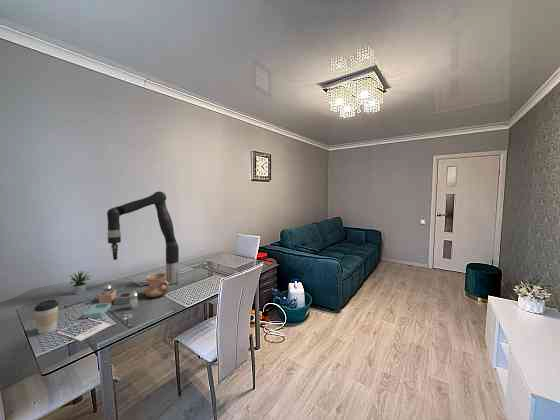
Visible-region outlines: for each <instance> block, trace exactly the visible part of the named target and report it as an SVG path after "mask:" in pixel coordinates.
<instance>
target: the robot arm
mask: <svg viewBox="0 0 560 420" xmlns="http://www.w3.org/2000/svg"><path fill="white" fill-rule="evenodd" d="M166 200H167V195H166V194H165V192H164V191H161V190H160V191H155V192H154V193H153V194H151V195H149V196H147V197H143V198H141V199H137V200H133V201H130V202H127V203H124V204H122V205H119V206H115V207H111V208H109V209H108V211H107V212H106V217H107V244H109V245H110V246H111V247H110V248H111V252H112V257H113V259H112V260H113V261H115V260H118V254H119V253H118V252H119V244H118V243H121V241H122V238H121V236H122V235H121V225H120V223H121V222H120V217H121V216H123V215H125V214H126V215H127V214H130V213H133V212H136V211H138V210H139V211H140V210H141V209H144V208H146V207H149V206H152V205H154V207H155V209H156V216H157V220H158V223H159V224H158V225H159V227H160V228H159V229H160V231H161V232H162V235H163V237H164V240H165V274H166V277H165V281H167V282H168V283H169V284H173V285H175V284H174V283H178V284H179V282H180V270H179V266H180V265H179V259H180V258H179V252H180V251H179V244H178V242H177V239H176V237H175V230H174V225H173V224H174V223H173V220H172V217H171V215H170V212H169V211H168V208H167V204H166ZM178 281H179V282H178Z"/></svg>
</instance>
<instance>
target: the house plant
mask: <svg viewBox="0 0 560 420" xmlns="http://www.w3.org/2000/svg"><path fill="white" fill-rule="evenodd" d="M85 272H86V270H84V271H83V270H81V271H78V273H77V274H76V273H73V274H72V275H69V276H66V277H70V278H71V279H70V280H71V281H70V282H69V285H71V284H73V285H72V287H73V291H74V294H75V295H78V294H77V293H82V292H84V291H85V292H86V287H87V286H86V285H87V282H85V281H90V280H91V276H92V277H93V276H94V275H88V272H86V273H85ZM84 273H85V274H84ZM89 274H92V273H90V272H89ZM73 275H74V276H73ZM85 292H84V293H85ZM82 294H83V293H82Z"/></svg>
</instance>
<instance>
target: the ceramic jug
mask: <svg viewBox="0 0 560 420" xmlns="http://www.w3.org/2000/svg"><path fill="white" fill-rule="evenodd" d="M145 281H147V284H148V287H147V288H146V289H144V295H145V296H146V297H147V298H159V297H162V296H164V295H166V293H167V292H168V288H169V286H170V285H169V283H168V282H167V281H166V273H164V272H156V273H151V274H149V275H147V276H146V279H145Z"/></svg>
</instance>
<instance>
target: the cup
mask: <svg viewBox="0 0 560 420" xmlns="http://www.w3.org/2000/svg"><path fill="white" fill-rule="evenodd" d="M116 296H117V290H116V289H113V290H112V293H111V294H105V295H104V290H103V291H102V292H101V293H100V294H99V295H98V304H101V303H112V302H114V298H115V297H116Z"/></svg>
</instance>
